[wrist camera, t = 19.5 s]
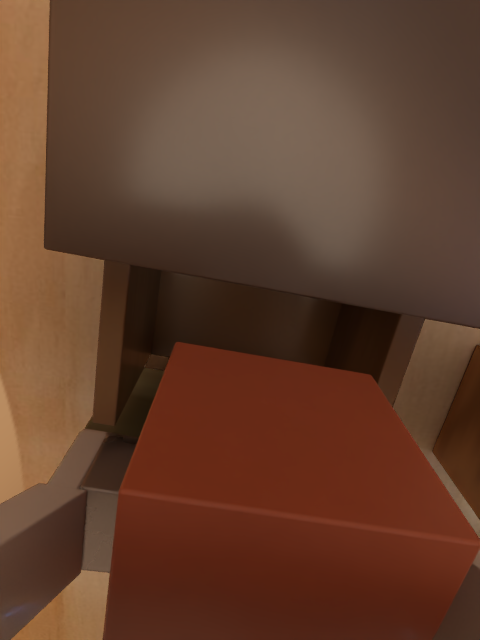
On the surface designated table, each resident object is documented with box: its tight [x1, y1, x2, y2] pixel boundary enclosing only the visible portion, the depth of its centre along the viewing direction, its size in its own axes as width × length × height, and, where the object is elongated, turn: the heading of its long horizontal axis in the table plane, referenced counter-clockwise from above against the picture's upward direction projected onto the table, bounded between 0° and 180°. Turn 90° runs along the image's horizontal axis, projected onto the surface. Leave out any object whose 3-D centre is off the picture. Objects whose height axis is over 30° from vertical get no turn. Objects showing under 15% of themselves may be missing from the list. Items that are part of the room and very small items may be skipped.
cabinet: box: [44, 0, 480, 329], centre depth 13 cm, size 15×13×9 cm
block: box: [103, 342, 480, 640], centre depth 8 cm, size 4×4×4 cm
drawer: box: [85, 260, 425, 438], centre depth 17 cm, size 18×11×7 cm, turn 169°
